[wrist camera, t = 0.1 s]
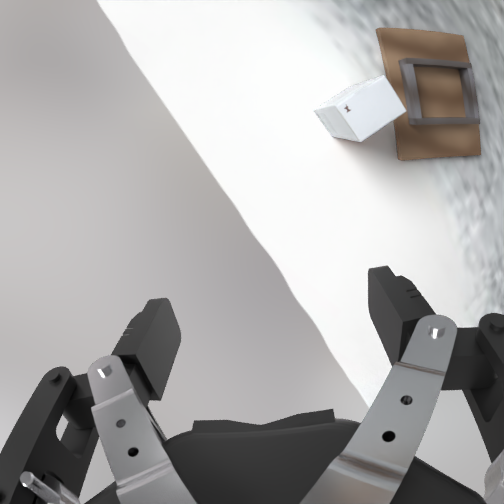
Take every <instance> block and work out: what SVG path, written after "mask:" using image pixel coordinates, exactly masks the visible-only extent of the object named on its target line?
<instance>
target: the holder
mask: <svg viewBox="0 0 504 504" xmlns="http://www.w3.org/2000/svg"><path fill="white" fill-rule="evenodd" d="M376 33H377V37H378V41H379V45H380V49H381V54H382V58H383V63H384V68H385V72H386V78H387V80H388V81H389V83H390V84H391V86H392V87H393V89H394V91H395V92H396V94H397V95H398V97H399V99H400V100H401V102H402V104H403V106H404V107H405V109H406V112H405V113H404V114H402V115H401V116H399V117H398V118H396V119H395V120H394V127H395V135H396V143H397V152H398V159H399V160H413V159H425V158H438V157H452V156H470V155H481V147H480V133H479V124H480V120H479V111H478V103H477V96H476V89H475V83H474V77H473V72H472V66H471V63H470V62H469V58H468V53H467V49H466V45H465V41H464V37H463V36H462V35H456V34H449V33H442V32H434V31H425V30H414V29H399V28H378V29H376Z"/></svg>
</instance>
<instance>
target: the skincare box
mask: <svg viewBox="0 0 504 504" xmlns="http://www.w3.org/2000/svg"><path fill="white" fill-rule="evenodd" d="M314 112H315V113H316V115H317V116H318V118H319V119H320V120H321V122H322V123H323V125H324V126H325V127H326V129H327V130H328V131H329V133H330V134H331V136H332V137H337V138H342V139H347V140H352V141H357V142H362V141H364V140H365V139H367V138H368V137H370V136H372V135H373V134H375V133H376V132H378V131H379V130H380V129H382V128H383V127H385V126H386V125H387V124H389V123H390V122H392V121H393V120H395V119H396V118H398V117H399V116H401V115H402V114H404V113H405V112H406V109H405V107H404V106H403V104H402V102H401V100H400V99H399V97H398V95H397V94H396V92H395V91H394V89H393V87H392V86H391V84H390V83H389V81H388V80H387V78H386V76H385V75H382V76H379V77H376V78H373V79H370V80H367V81H364V82H361V83H359V84H356V85H353V86H350V87H348V88H347V89H345V90H343V91H342V92H340V93H338V94H337V95H335V96H334V97H332V98H331V99H329V100H328V101H326V102H325V103H323V104H322V105H320V106H319V107H317V108H316V109H314Z"/></svg>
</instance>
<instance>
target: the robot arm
mask: <svg viewBox="0 0 504 504" xmlns="http://www.w3.org/2000/svg"><path fill="white" fill-rule="evenodd" d="M368 307H369V313H370V317H371V319H372V321H373V324H374V326H375V328H376V330H377V333H378V335H379V337H380V339H381V342H382V344H383V346H384V349H385V351H386V353H387V356H388V358H389V360H390V363H391V365H392V369H391V371H390V373H389V375H388V376H387V378H386V380H385V382H384V384H383V386H382V388H381V390H380V391H379V393H378V395H377V397H376V399H375V400H374V402H373V404H372V406H371V407H370V409H369V411H368V413H367V414H366V416H365V418H364V419H363V421H362V423H359V422H356V421H352V420H346V419H336V418H335V417H334V412H333V409H329V410H323V411H316V412H309V413H302V414H296V415H293V416H290V417H287V418H284V419H281V420H277V421H274V422H271V423H267V424H264V425H256V424H249V423H242V422H236V421H230V420H202V421H201V420H200V421H194V423H193V428H192V430H191V431H187V432H184V433H181V434H179V435H176V436H174V437H172V438H170V439H168V440H167V438H166V437H165V435H164V433H163V432H162V430H161V428H160V426H159V425H158V423H157V421H156V419H155V418H154V416H153V414H152V412H151V410H150V409H149V407H148V403H149V400H159V401H160V400H161V398H162V395H163V392H164V390H165V387H166V383H167V380H168V377H169V375H170V372H171V369H172V366H173V363H174V360H175V357H176V354H177V351H178V348H179V346H180V342H181V332H180V328H179V325H178V322H177V320H176V317H175V315H174V312H173V309H172V306H171V303H170V301H169V300H168V299H167V298H160V299H151V300H149V301H148V302H147V304H146V306H145V307H144V309H143V311H142V312H140V313H138V314H137V315H136V316H135V317H134V318H133V319H132V320H131V321H130V323H129V324H128V326H127V329H126V330H125V331H124V333H123V336H121V338H120V340H119V341H118V343H117V345H116V347H115V348H114V350H113V352H112V354H111V355H108V356H104V357H101V358H99V359H98V360H96V361H95V362H94V363H92V364H91V366H90V367H89V369H88V372H87V373H86V374H82V375H77V376H73V375H72V374H71V372H70V371H69V369H68V368H66V367H57V368H54V369H52V370H50V371H49V372H47V373H46V374H45V375H44V377H43V378H42V380H41V381H40V383H39V385H38V386H37V388H36V390H35V391H34V393H33V395H32V397H31V398H30V400H29V401H28V403H27V405H26V407H25V408H24V410H23V412H22V414H21V416H20V417H19V419H18V421H17V423H16V424H15V426H14V428H13V430H12V432H11V434H10V436H9V438H8V440H7V441H6V443H5V445H4V447H3V449H2V451H1V453H0V504H80V501H79V496H80V492H81V489H82V486H83V482H84V480H85V477H86V473H87V470H88V467H89V465H90V462H91V458H92V455H93V453H94V449H95V447H96V444H97V441H98V439H99V437H100V440H101V443H102V446H103V449H104V452H105V454H106V457H107V460H108V463H109V465H110V468H111V471H112V473H113V475H114V478H115V482H113V483H112V484H111V485H109V486H108V487H107V488H105V489H104V490H103V491H101V492H100V493H99V494H97V495H96V496H94V497H93V498H92V499H90V500H89V501H87V502H86V503H85V504H504V315H502V314H498V313H490V314H487V315H485V316H483V317H482V318H481V319H480V321H479V325H478V327H475V328H457V326H456V324H455V322H454V321H453V320H451V319H450V318H448V317H446V316H443V315H436V314H435V312H434V311H433V309H432V308H431V307H430V305H429V304H428V303H427V301H426V300H425V299H424V297H423V296H421V293H420V292H419V291H418V290H417V288H416V287H415V285H414V284H413V283H412V281H410V280H409V279H407V278H405V277H403V276H395V275H394V273H393V272H392V271H391V269H390V268H389V267H388V266H382V267H376V268H370V269H369V271H368ZM440 390H462V391H463V393H464V395H465V397H466V399H467V402H468V404H469V406H470V409H471V411H472V413H473V416H474V418H475V421H476V423H477V425H478V428H479V430H480V433H481V436H482V438H483V441H484V443H485V446H486V449H487V451H488V454H489V457H490V460H491V463H492V464H491V465H490V467H489V468H488V470H487V472H486V474H485V495H484V498H482V497H481V496H480V495H479V494H478V493H477V492H475V491H473V490H472V489H470V488H468V487H466V486H464V485H463V484H461V483H459V482H457V481H455V480H454V479H452V478H450V477H449V476H447V475H445V474H443V473H442V472H440V471H439V470H437V469H435V468H434V467H432V466H430V465H429V464H427V463H425V462H424V461H422V460H421V459H419V458H417V457H416V456H415V454H416V451H417V449H418V447H419V445H420V442H421V440H422V437H423V435H424V433H425V431H426V428H427V425H428V423H429V421H430V418H431V415H432V413H433V410H434V407H435V405H436V402H437V399H438V396H439V393H440ZM62 414H63V416H64V417H65V418H66V419H67V421H68V425H67V428H66V429H65V432H64V434H63V436H62V438H61V441H59V439H58V438H57V435H56V427H57V425H58V423H59V420H60V418H61V416H62Z"/></svg>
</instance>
